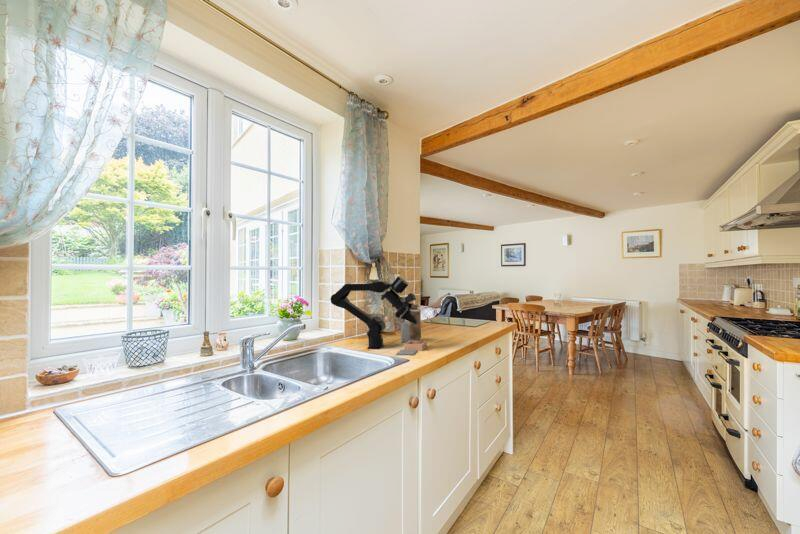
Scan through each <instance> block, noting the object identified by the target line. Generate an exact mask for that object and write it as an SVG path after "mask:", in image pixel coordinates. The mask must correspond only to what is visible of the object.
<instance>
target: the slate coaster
mask: <svg viewBox="0 0 800 534" xmlns="http://www.w3.org/2000/svg"><path fill="white" fill-rule="evenodd" d="M417 352H418V351H417V350H405V349H399V351H398V352H396V356H415V354H416V353H417Z"/></svg>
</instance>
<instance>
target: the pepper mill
mask: <svg viewBox="0 0 800 534" xmlns="http://www.w3.org/2000/svg"><path fill="white" fill-rule="evenodd" d="M418 306H419V305H418V304H414V305H411V309H410V313H411V315H412V316H413V317H414V319H415V320H416V321H417V323H416V324H415V323H412V322H410V321H408V322H409V329H410V338H412V339H417V338H420V339H421V338H422V324H421V323H422V322H421V320H422V319H421V309H420V308H419V307H418Z"/></svg>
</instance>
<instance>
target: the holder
mask: <svg viewBox="0 0 800 534" xmlns="http://www.w3.org/2000/svg"><path fill="white" fill-rule="evenodd" d="M403 345H404V347H403V348H404V350H417V352H423V351H424V350H425V349H426V348H427V347H428V343H427V340H420V341H413V340H410V341H408V342H407V343H405V344H404V343H403Z"/></svg>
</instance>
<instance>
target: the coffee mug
mask: <svg viewBox="0 0 800 534" xmlns="http://www.w3.org/2000/svg"><path fill="white" fill-rule="evenodd" d="M400 331H401V332H400V333H401V334H400V335H401V344H403V345H404V344H405V343H407V342H408V341H410V340H413V341H421V338H417V339H412V338H410V329H409V321H407V322H406V321H405V322H402V323H400Z"/></svg>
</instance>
